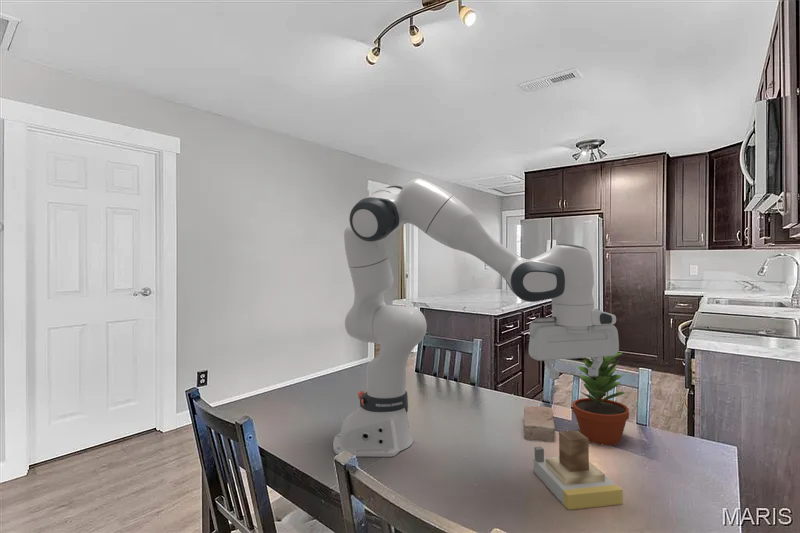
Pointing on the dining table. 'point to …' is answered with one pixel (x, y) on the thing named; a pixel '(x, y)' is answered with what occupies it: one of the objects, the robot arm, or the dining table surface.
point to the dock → (577, 488)
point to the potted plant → (601, 405)
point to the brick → (539, 424)
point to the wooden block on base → (574, 460)
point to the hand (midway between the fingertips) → (573, 377)
